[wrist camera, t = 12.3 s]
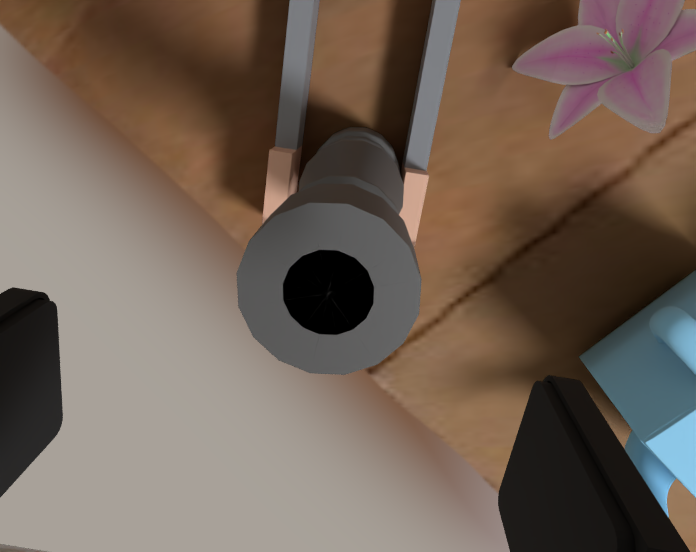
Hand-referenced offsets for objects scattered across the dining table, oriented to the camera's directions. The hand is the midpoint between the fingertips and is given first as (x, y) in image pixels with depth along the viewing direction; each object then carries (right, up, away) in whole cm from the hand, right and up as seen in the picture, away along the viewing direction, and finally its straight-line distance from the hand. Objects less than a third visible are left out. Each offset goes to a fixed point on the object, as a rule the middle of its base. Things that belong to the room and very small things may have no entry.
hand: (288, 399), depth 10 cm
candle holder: (+2, +10, +30) cm, 31 cm away
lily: (+18, +18, +26) cm, 36 cm away
